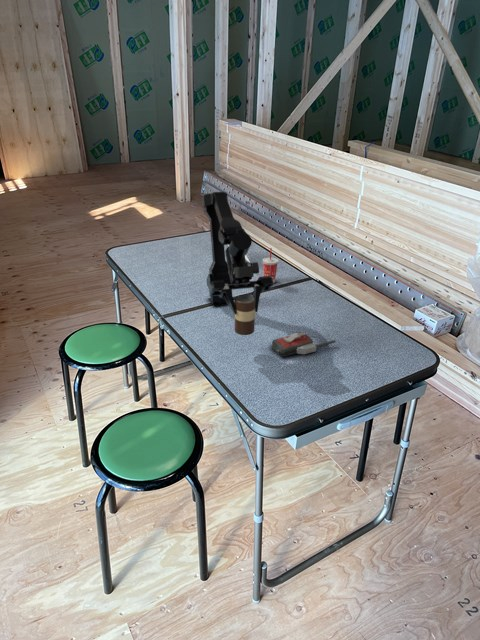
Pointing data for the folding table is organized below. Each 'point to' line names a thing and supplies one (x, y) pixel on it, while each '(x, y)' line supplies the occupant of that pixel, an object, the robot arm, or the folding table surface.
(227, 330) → the folding table surface
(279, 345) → the walkie-talkie
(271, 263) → the beverage cup
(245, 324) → the coffee can
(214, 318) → the folding table surface
